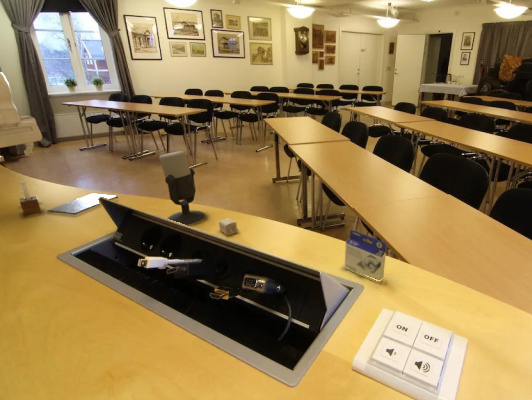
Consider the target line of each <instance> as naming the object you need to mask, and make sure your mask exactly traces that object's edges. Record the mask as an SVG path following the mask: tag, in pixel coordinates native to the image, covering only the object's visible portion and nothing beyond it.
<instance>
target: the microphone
mask: <svg viewBox="0 0 532 400" xmlns="http://www.w3.org/2000/svg"><path fill="white" fill-rule="evenodd" d="M158 159H159V162H160V165H161V169H162V173H163V175H164V178H165V179H164V180H165V181H164V182H165V183H166V185H167V187H168V194H169V199H170V200H171V202H172V203H173V204H174V205H177V206H180V208H181V211H179V212H176V213H174V214H172V215H169V217H168V218H167V220H168V219H170V220H173V221H176V222H180V223H182V224H185V225H188V226H189V227H190V226H193V225H197V224H199V223H201V222H203V221H204V220H205V219H206V213H205V212H203V211H201V210H190V204H191V203H193V201H194V200H195V196H196V191H197V190H196V184H195V179H194V178H195V174H196V172H195V170H194V169H193V168H190V165H189V162H188V158H187V156H186V152H185V151H183V150H179V151H173V152H168V153H165V154H160V156H159V157H158ZM188 226H187V227H188Z"/></svg>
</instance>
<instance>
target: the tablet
mask: <svg viewBox="0 0 532 400" xmlns="http://www.w3.org/2000/svg"><path fill="white" fill-rule="evenodd" d="M100 197H104V198H107V199H110V200H109V201H111V200H113V199H118V195H112V194H103V193H90V194H86V195H84V196H81V197H79V198H76V199H74V200H71V201H68V202H65V203H64V204H61V205H58V206H56V207H53V208H50V209H48V210H47V212H49V213H56V214H58V213H59V214H67V215H75V216H76V215H78V214H80V213H83V212H86V211H88V210H90V209H92V208H94V207H97V206H99V205H101V204H100V203H99V200H98V199H99V198H100Z"/></svg>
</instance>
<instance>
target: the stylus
mask: <svg viewBox="0 0 532 400" xmlns="http://www.w3.org/2000/svg"><path fill="white" fill-rule="evenodd" d="M20 185H21V186H22V188H21V190H22V192H24V193H23V194H24V198H26V200H31V197H32V196H31V194H30V190H29V189H28V185H27V182H25V181H23V182H22V181H21V182H20ZM21 186H20V187H21Z"/></svg>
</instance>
